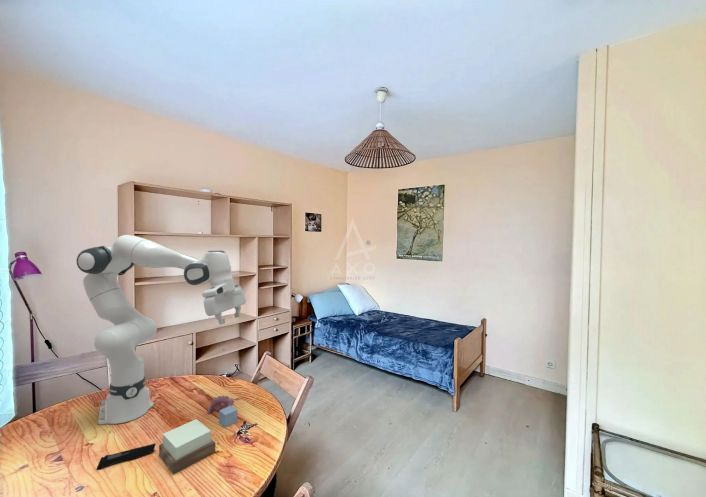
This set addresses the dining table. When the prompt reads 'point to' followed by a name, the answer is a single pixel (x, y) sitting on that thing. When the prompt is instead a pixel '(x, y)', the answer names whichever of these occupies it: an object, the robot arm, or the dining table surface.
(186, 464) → the walnut slab
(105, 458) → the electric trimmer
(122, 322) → the robot arm
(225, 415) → the blue cube
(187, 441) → the sage slab
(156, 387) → the dining table surface
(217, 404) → the video game controller
